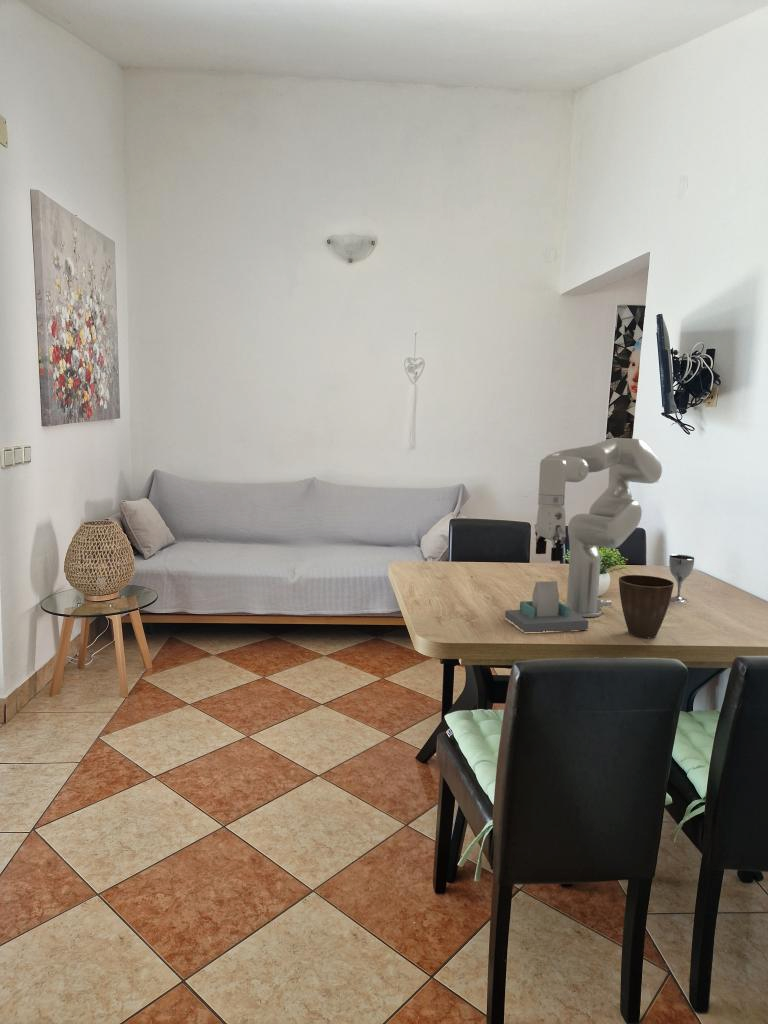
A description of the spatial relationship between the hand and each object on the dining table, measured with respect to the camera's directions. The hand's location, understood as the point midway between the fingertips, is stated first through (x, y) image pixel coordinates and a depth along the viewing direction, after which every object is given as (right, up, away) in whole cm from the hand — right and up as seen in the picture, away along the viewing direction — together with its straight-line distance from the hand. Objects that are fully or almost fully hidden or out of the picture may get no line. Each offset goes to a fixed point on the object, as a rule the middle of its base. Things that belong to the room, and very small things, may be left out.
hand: (548, 557), depth 216 cm
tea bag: (-1, -17, +2) cm, 18 cm away
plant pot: (+26, -22, -5) cm, 34 cm away
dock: (-1, -20, +1) cm, 20 cm away
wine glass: (+53, -17, +35) cm, 66 cm away
